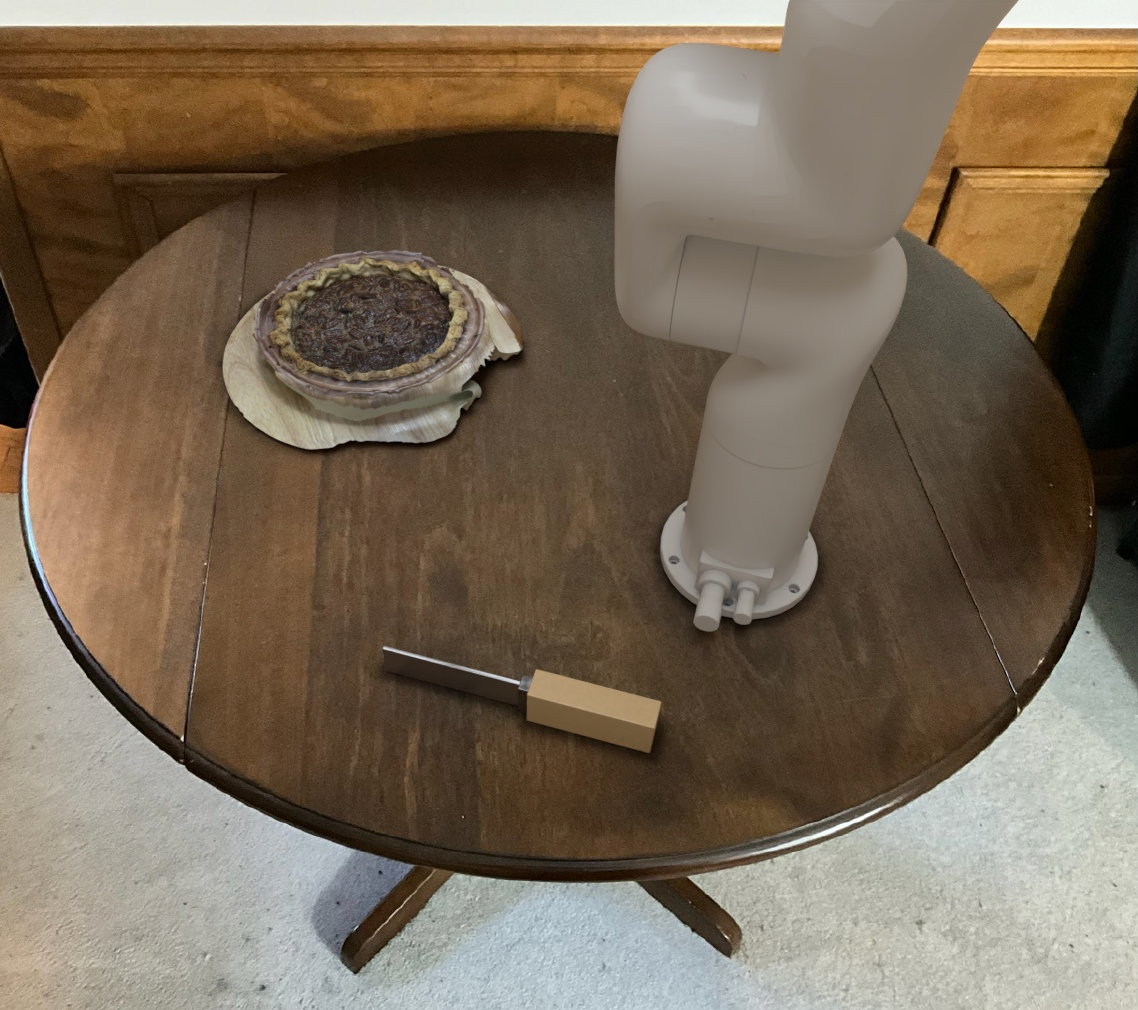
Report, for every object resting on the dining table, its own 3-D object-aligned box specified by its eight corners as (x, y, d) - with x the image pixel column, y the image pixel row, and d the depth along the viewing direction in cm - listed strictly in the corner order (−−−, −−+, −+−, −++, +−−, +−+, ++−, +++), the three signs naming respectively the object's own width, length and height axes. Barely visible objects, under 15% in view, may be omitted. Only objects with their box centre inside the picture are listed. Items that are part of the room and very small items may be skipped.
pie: (197, 454, 89) (183, 412, 86) (250, 261, 107) (240, 220, 103) (523, 454, 91) (524, 413, 87) (522, 264, 109) (522, 223, 105)
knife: (656, 726, 74) (661, 701, 71) (649, 754, 72) (654, 728, 70) (392, 657, 77) (388, 629, 74) (381, 682, 75) (376, 655, 73)
